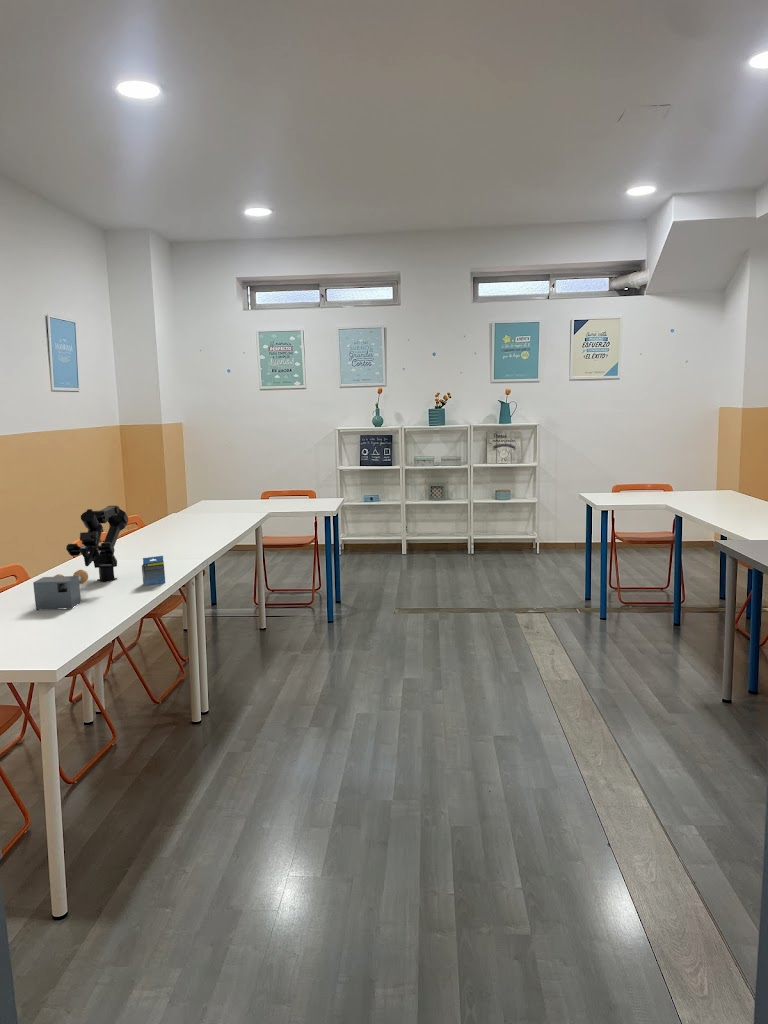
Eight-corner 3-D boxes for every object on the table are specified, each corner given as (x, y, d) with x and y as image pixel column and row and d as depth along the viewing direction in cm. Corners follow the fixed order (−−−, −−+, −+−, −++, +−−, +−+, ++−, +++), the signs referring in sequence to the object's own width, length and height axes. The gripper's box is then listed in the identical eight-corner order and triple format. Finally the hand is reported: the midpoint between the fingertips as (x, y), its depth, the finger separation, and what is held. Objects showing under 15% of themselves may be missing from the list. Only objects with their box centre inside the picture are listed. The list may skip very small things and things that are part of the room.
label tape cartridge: (163, 581, 332) (161, 554, 330) (165, 583, 328) (163, 555, 327) (142, 584, 328) (140, 556, 326) (144, 585, 324) (142, 558, 322)
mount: (50, 601, 303) (47, 574, 302) (85, 599, 303) (82, 573, 302) (36, 610, 290) (33, 582, 289) (72, 608, 291) (69, 581, 289)
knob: (75, 583, 308) (74, 569, 308) (88, 582, 309) (87, 569, 308) (59, 592, 293) (58, 578, 292) (73, 592, 293) (72, 578, 292)
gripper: (65, 525, 316) (57, 556, 307) (109, 523, 317) (102, 554, 307) (74, 540, 325) (66, 570, 316) (117, 538, 326) (111, 569, 316)
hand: (86, 565), depth 314 cm, fingers closed
